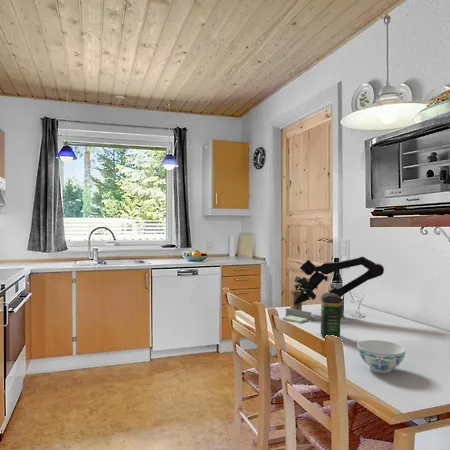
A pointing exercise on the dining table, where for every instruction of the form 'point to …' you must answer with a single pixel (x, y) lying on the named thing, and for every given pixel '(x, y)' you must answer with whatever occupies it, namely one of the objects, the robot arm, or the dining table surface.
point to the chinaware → (381, 354)
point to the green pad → (295, 319)
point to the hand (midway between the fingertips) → (293, 302)
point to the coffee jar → (330, 314)
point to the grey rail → (298, 313)
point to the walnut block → (294, 297)
